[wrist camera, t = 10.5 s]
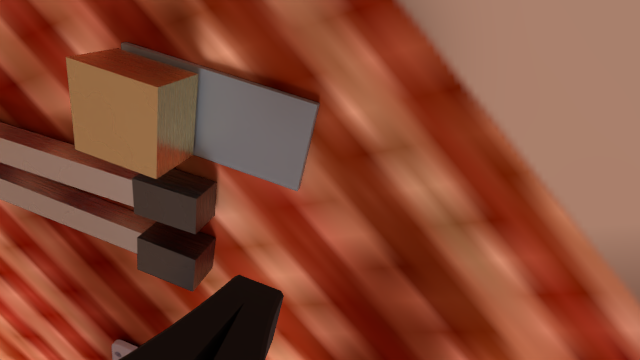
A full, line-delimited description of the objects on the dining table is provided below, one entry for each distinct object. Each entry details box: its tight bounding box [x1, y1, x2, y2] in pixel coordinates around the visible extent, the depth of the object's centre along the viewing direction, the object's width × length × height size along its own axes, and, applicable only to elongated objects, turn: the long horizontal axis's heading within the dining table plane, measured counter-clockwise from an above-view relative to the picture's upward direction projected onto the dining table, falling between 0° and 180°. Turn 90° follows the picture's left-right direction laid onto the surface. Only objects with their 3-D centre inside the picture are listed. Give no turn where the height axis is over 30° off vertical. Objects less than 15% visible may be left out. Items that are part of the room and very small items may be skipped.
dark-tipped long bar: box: [0, 162, 216, 292], centre depth 19 cm, size 3×18×2 cm, turn 77°
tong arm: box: [0, 122, 216, 234], centre depth 17 cm, size 3×17×3 cm, turn 80°
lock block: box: [66, 48, 198, 179], centre depth 14 cm, size 4×4×2 cm
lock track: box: [121, 42, 320, 191], centre depth 15 cm, size 4×8×1 cm, turn 77°
